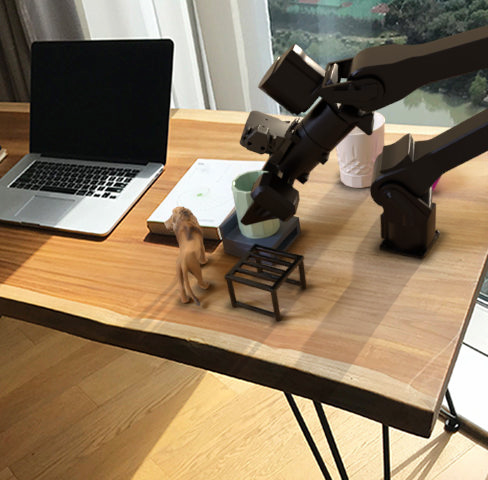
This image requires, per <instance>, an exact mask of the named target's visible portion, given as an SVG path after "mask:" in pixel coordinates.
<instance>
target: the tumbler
mask: <svg viewBox="0 0 488 480" xmlns="http://www.w3.org/2000/svg"><path fill="white" fill-rule="evenodd" d="M263 172H267V171H262V169H255V170H248V171H245V172H243V173H241V174H238V175H237V176H236V177H235V178H233V179H232V181H231V192H232V198H233V202H234V207H235V210H236V213H237V218H238V223H239V229H240V231H241V233H242V234H243V235H244V236H245V237H248V238H252V239H260V238H265V237H268V236H271V235H273V234H274V233H276V232H277V231H278V229H279V227H280V219H272V220H267V221H263V222H259V223H255V224H251V225H247V226H245V225H243V224H242V223H241V222H240V220H241V218H242V217H243V215H244V213H245V212H246V210H247V209H248V207H249V206H250V204H251V203H252V201H253V199H252V198H251V195H250V193H251V190H252V187H253V184H254V182H256V181H257V179H258V178H259V177H260V175H261V174H262V173H263Z"/></svg>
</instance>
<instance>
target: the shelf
mask: <svg viewBox="0 0 488 480" xmlns="http://www.w3.org/2000/svg"><path fill="white" fill-rule="evenodd" d="M218 230H219V234H220V238H221V242H222V248H223V252H224V254H228V255H229V256H234V257H239V258H242V257H243V256H244V255H245V254H246V253H247V252H248V251H249V250H250V249H251V247H252V246H253V245H254V244H259V245H262V246H266V247H270V248H274V249H278V250H282V251H286V252H287V250H288V249H289V247H291V245H292V244H293V243H294V242H295V241H296V240H297V239H298V237H300V235H301V234H302V228H301V222H300V216H295V215H294V216H293V217H292V218H291V219H290V220H289V221H288V222H282V221H281V220H280V227H279V229H278V231H277V232H276V233H274V234H273V235H271V236H268V237H265V238H260V239H252V238H248V237H245V236H244V235H243V234H242V233H241V231H240V229H239V223H238V218H237V213H236V209H234V211H233V212H232V213H231V214H230V215H229V216H228V217H227V218H226V219H224V221H223V222H221V223H220V225H218ZM260 255H264V256H268V257H272V258H276V259H280V258H281V257H280V256H276V255H272V254H268V253H264V252H260ZM248 261H252V262H256V261H255V259H254V258H250V259H249V260H248ZM261 262H262V264H264V265H267V266H273V265H275V264H274V263H270V262H266V261H262V260H261Z"/></svg>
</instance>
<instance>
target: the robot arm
mask: <svg viewBox="0 0 488 480" xmlns="http://www.w3.org/2000/svg"><path fill="white" fill-rule="evenodd" d="M485 69H488V24H486V25H483V26H480V27H476V28H473V29H469V30H466V31H463V32H459V33H456V34H451V35H449V36H445V37H442V38H439V39H435V40H431V41H428V42H425V43H419V44H403V43H391V44H384V45H375V46H369V47H366V48H364V49H362V50H359V52H357V53H356V54H355V56H352V57H351V56H350V57H348V58H342V59H337V60H333V61H330V62H327V63H326V65H325V68H323V67H322V66H320V65H319V64H318V63H317V62H315V60H314V59H312V58H310V56H308V55H307V54H306V52H305V51H304V50H303V49H302V48H301V47H300V46H299V45H297V44H295V43H293V44H292V45H291V46H290V47H289V48H288V49H287V50H285V51H284V52H283V54H282V55H279V56H278V57H276V59H275V60H274V62H273V63H272V64H271V66H270V67H269V68H268V69H267V71H266V72H265V74H264V75H263V77H262V78H261V80H260V81H259V83H258V85H257V88H258V89H259V90H260V91H262V92H263V93H264V94H266V95H267V96H268V97H269V98H271V100H273V101H274V102H276V103H277V104H278V105H279V106H281V107H282V108H283V109H285V110H286V111H287V112H288V113H290V114H291V115H295V116H297V117H298V116H299V115H300V114H302V113H303V114H305V113H306V112H307V113H306V115H304V116H303V118H302V117H301V116H299V117H298V118H297V117H295V118H294V119H293V121H291V120H282V119H280V118H278V117H276V116H273V115H270V114H267V113H264V112H261V111H258V110H251V111H250V112H249V115H248V116H247V119H246V121H245V124H244V127H243V130H242V133H241V136H240V139H239V145H240V146H241V147H242V148H245V149H246V150H247V151H250V152H253V153H255V154H258V155H260V156H261V155H262V156H263V155H268V158H267V161H266V162H265V164H264V165H263V167H262V169H261V170H262V171H267V172H263V173H262V174H261V175H260V177H259V178H258V179H257V181H256V182H254V184H253V187H252V190H251V193H250V195H251V198H252V199H253V201H252V203H251V204H250V206H249V207H248V209H247V210H246V212H245V213H244V215H243V217H242V218H241V220H240V222H241V223H242V224H243V225H245V226H247V225H251V224H255V223H259V222H263V221H267V220H272V219H280V220H281V221H282V222H288V221H289V220H290V219H291V218H292V217H293V216H295V215H296V214H297V211H298V208H299V203H300V191H299V190H298V189H296V188H295V187H294V184H295V181H297V182H299V183H300V184H302V185H305V184H306V183H307V182H308V181H309V178H310V174H311V172H312V171H313V170H314V169H315V168H316V167H317V166H318V165H319V164H321V165H322V166H324V165H325V164H326V163H327V162H328V161H329V159H330V156H331V155H330V154H331V152H332V151H333V150H334V149H336V146H337V145H338V144H339V143H340V142H341V141H342V140H343V139H344V138H345V137H346V136H347V135H348V134H349V133H350V132H351V131H352V130H353V129H354V128H355V127H358V128H359V129H360V130H362V131H363V132H364V133H365V134H367V135H372V133H373V126H374V112H377V111H379V110H382V109H384V108H386V107H389V106H390V105H393V104H395V103H397V102H399V101H400V102H401V101H402V100H404V99H405V98H406V97H408V96H410V95H411V94H412V93H414V92H415V91H417V90H419V89H420V88H422V87H425V86H428V85H429V84H433V83H437V82H440V81H444V80H448V79H451V78H455V77H459V76H463V75H466V74H471V73H475V72H478V71H482V70H485ZM342 79H343V80H346V81H342ZM318 99H319V101H317V100H318ZM316 102H317V103H316ZM314 104H315V105H314ZM313 105H314V106H313ZM311 107H312V108H311ZM487 152H488V107H487V108H485V109H483V110H481V111H479V112H478V113H476V114H473V115H472V116H470V117H468V118H467V119H465V120H463V121H461V122H459V123H458V124H455V125H454V126H452V127H450V128H448V129H447V130H445V131H442V132H441V133H439V134H437V135H436V136H433V137H432V138H429V139H425V140H414V138H413V136H412V134H411V133H406V134H404V135H403V136H402V137H400V138H399V139H397V141H395V142H393V143H390V144H385V146H383V151H382V153H381V154H379V155H378V156H377V158H376V160H375V163H374V167H373V173H372V180H371V186H369V187H370V188H369V193H370V197H371V199H372V201H373V202H374V203H375V204H376V205H377V206H379V207H381V208H382V209H383V210H382V212H381V213H380V215H379V217H380V218H379V219H380V239H382V241H381V243H380V244H379V245H378V249H379V250H380V251H382V252H383V251H384V252H387V253H393V254H397V255H401V256H405V257H410V258H414V259H419V260H423V259H424V258H425V257H426V256H427V255H428V253H429V252H430V250H431V249H432V247H433V246H434V245H435V243H436V241H437V240H438V238H439V237H440V235H441V231H440V230H438V229H436V228H437V227H436V225H437V224H436V223H437V202H433V191H432V186H433V184H434V183H435V182H436V181H437V180H438V179H439V178H440V177H441V178H442V176H444V174H446V173H448V172H449V171H452V170H454V169H455V168H458V167H459V166H461V165H463V164H466V163H467V162H469V161H472V160H473V159H475V158H477V157H479V156H481V155H483V154H485V153H487ZM441 178H440V179H441Z"/></svg>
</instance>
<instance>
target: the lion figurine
mask: <svg viewBox="0 0 488 480" xmlns="http://www.w3.org/2000/svg"><path fill="white" fill-rule="evenodd" d="M171 211H172V214H171V215H170V216H169V218H168V219H167V220H165V221H164V226H165V228H166V229H167V230H169V231H170V232H171V233H173V232H174V235H175V237H176V241H177V243H178V247H179V253H178V255H177V256H176V258H175V259H176V260H175V261H176V264H175V265H176V266H175V267H176V268H175V271H176V276H177V281H178V286H179V294H180V297H181V298H180V300H181V302H182V303H184V304H185V303H189V301H190V297H191V298H192V300H193V302H194V305H196V307H200V306H201V302H200V300H199V298H198V297H197V296H196V295H195V293H194V292H193V290H192V287H191V284H190V281H189V276H188V273H190V274H191V275H192V276H194V278H195V279H196V281H197V286H198V287H200V288H201V289H204V290H207V289H209V287H210V283H209V282H208V281H204V279H203V272H202V268H201V265H206V264H208V262H209V259H208V258H206V249H205V245H204V231H203V229H202V226H201V225H200V223H199V221H198V218H197V216H195V214H194V213H193V212H192V210H191V209H189V208H187V207H185V206H176V207H175V208H173V209H172V210H171ZM200 264H201V265H200ZM186 290H187V291H186ZM187 292H188V294H189V296H188V295H187Z"/></svg>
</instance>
